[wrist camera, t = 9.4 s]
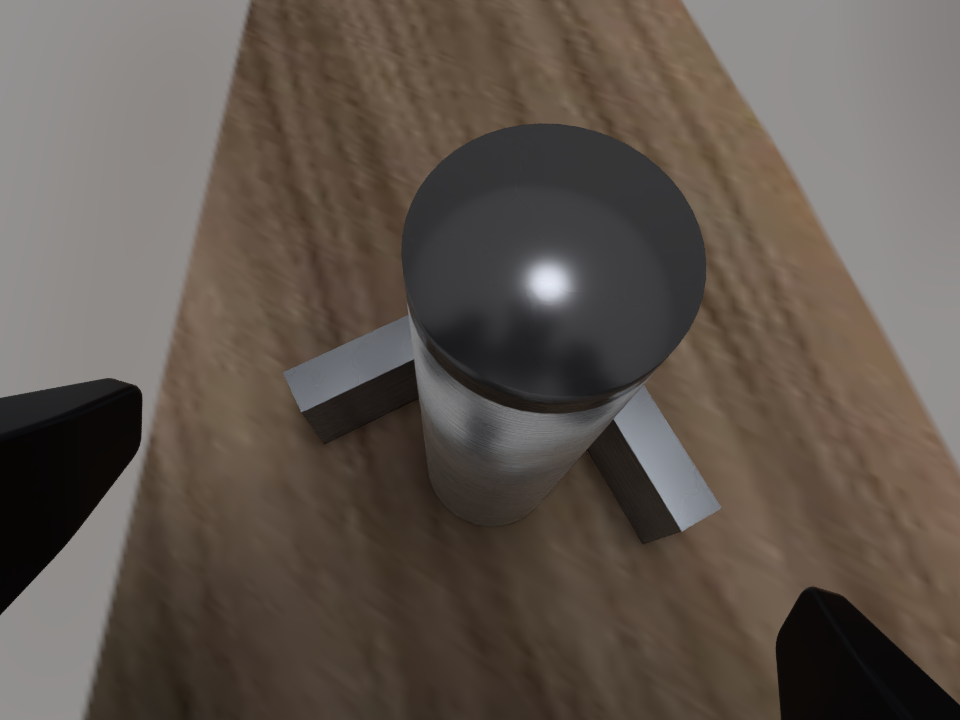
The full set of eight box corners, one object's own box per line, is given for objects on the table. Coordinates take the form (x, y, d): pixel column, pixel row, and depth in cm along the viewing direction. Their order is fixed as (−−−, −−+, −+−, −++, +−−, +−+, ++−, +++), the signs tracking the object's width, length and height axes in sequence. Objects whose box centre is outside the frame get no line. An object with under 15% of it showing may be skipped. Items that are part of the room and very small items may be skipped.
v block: (671, 552, 20) (715, 541, 17) (297, 435, 21) (270, 402, 17) (714, 334, 23) (761, 286, 19) (379, 235, 23) (368, 173, 20)
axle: (430, 531, 20) (407, 403, 8) (424, 405, 21) (396, 127, 9) (559, 522, 20) (733, 385, 8) (546, 398, 22) (678, 120, 9)
